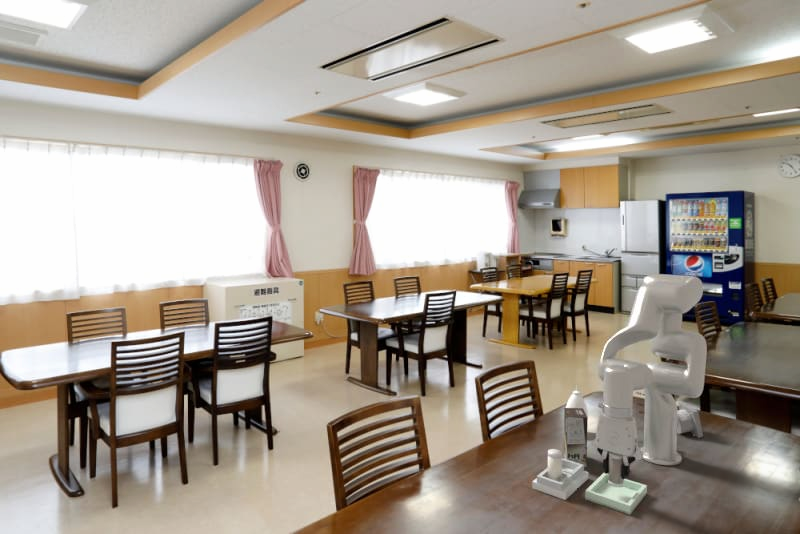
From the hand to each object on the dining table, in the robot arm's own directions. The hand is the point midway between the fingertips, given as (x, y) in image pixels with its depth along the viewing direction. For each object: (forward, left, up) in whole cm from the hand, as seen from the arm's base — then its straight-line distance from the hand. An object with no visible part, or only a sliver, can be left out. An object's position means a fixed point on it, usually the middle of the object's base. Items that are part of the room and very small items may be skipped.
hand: (616, 474), depth 142 cm
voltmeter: (-64, -3, -7) cm, 65 cm away
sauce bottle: (-36, -27, -7) cm, 46 cm away
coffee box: (-14, -18, -7) cm, 24 cm away
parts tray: (0, 0, -7) cm, 7 cm away
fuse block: (+3, -15, -7) cm, 17 cm away
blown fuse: (0, 0, -3) cm, 3 cm away
